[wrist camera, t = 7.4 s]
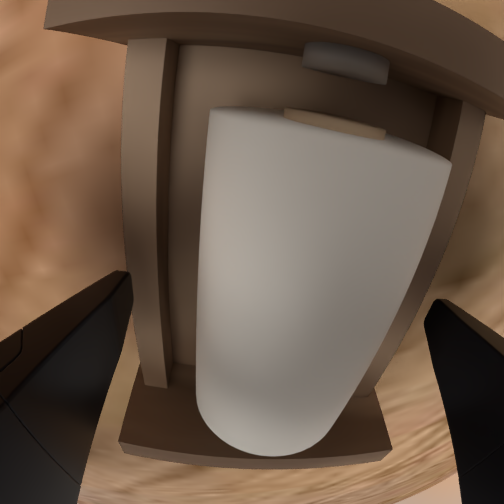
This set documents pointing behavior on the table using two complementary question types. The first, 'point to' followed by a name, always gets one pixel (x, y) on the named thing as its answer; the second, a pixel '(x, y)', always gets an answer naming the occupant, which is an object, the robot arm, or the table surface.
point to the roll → (301, 266)
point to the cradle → (278, 97)
